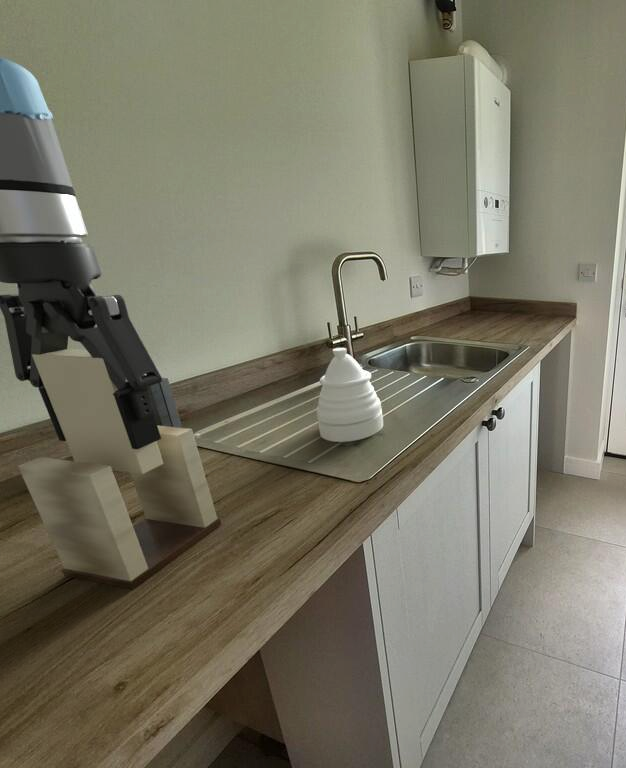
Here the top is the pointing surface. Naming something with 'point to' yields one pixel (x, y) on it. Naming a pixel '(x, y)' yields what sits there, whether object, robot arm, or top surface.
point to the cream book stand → (123, 512)
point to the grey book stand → (164, 404)
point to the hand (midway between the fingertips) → (110, 439)
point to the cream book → (91, 412)
